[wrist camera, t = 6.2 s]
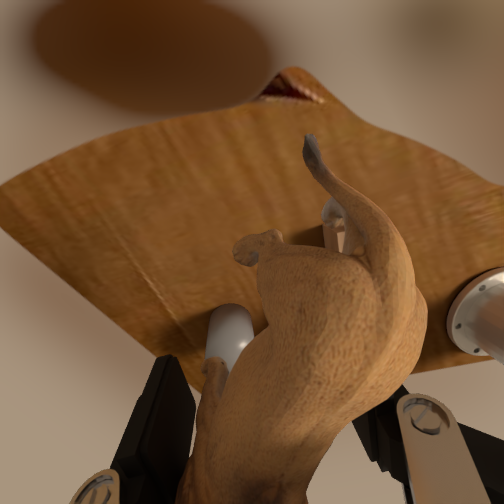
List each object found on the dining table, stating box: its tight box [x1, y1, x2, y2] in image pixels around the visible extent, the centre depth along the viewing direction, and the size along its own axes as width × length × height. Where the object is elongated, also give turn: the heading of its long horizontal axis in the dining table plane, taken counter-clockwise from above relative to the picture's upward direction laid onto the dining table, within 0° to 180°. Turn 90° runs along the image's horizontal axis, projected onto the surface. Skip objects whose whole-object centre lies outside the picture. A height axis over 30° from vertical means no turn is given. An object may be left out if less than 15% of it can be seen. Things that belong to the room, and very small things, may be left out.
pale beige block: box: [322, 224, 345, 253], centre depth 26 cm, size 5×4×4 cm
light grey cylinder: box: [205, 304, 254, 379], centre depth 27 cm, size 5×5×6 cm
